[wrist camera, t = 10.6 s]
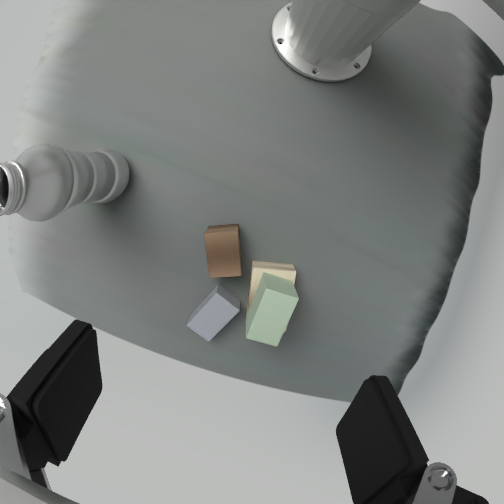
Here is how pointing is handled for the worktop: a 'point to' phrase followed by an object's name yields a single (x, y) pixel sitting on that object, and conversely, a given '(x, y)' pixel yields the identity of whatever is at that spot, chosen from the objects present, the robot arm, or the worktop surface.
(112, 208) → the worktop surface
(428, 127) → the worktop surface
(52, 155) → the plastic bottle
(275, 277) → the sage brick
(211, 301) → the slate brick
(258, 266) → the birch brick
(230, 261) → the walnut brick
